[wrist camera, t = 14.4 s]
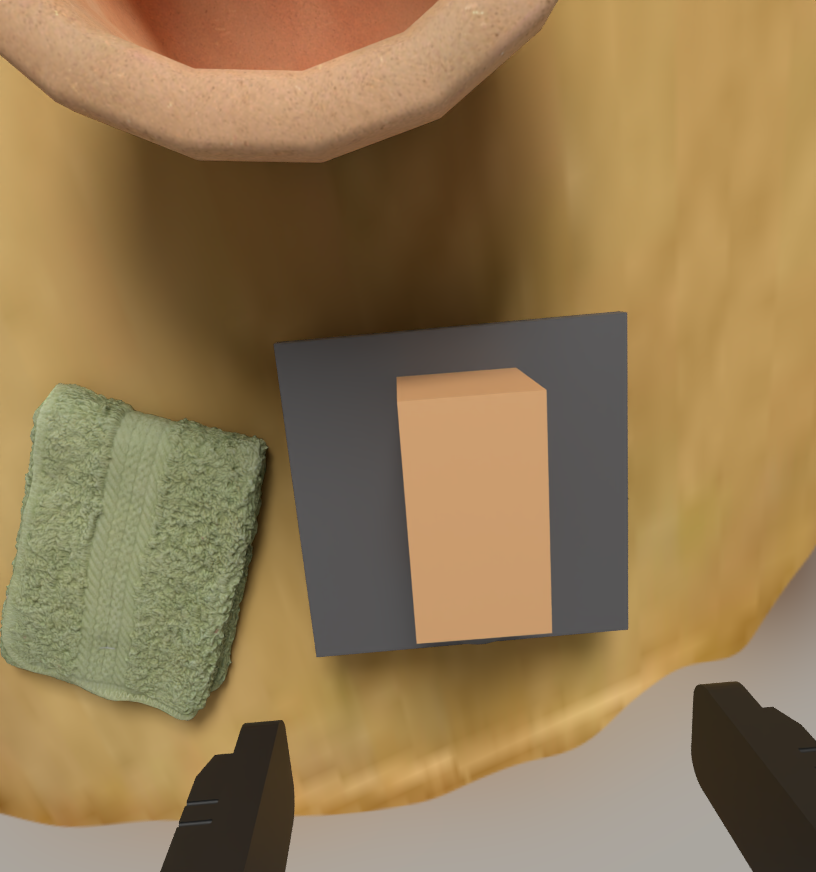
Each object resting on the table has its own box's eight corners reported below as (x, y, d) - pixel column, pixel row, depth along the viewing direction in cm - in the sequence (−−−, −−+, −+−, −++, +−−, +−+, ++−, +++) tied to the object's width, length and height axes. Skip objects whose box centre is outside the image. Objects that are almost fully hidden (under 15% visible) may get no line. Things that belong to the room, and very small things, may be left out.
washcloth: (7, 652, 38) (-27, 685, 35) (54, 371, 34) (20, 380, 31) (222, 703, 39) (207, 739, 36) (291, 437, 35) (281, 452, 32)
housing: (396, 376, 29) (396, 401, 23) (516, 367, 29) (546, 389, 23) (414, 598, 32) (418, 669, 26) (523, 589, 32) (552, 659, 26)
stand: (326, 608, 37) (316, 657, 33) (291, 334, 34) (273, 343, 29) (597, 583, 37) (628, 629, 33) (593, 307, 34) (627, 312, 29)
